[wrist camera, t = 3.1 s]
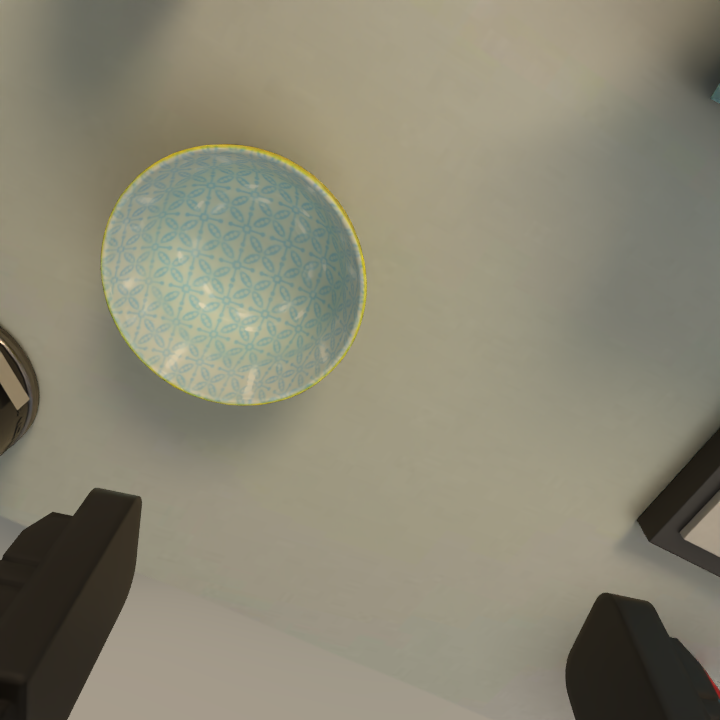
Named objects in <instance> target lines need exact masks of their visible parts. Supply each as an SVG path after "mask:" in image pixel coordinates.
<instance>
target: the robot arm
mask: <svg viewBox="0 0 720 720" xmlns="http://www.w3.org/2000/svg"><path fill="white" fill-rule="evenodd" d="M38 405H39V388H38V383H37V379H36V375H35V372H34V370H33V367H32V365H31V363H30V361H29V359H28V358H27V356H26V354H25V353H24V351H23V350H22V348H21V347H20V346H19V345H18V343H17V342H16V341H15V340H14V339H13V338H12V337H11V336H10V335H9V334H8V333H7V332H6V331H5V330H4V329H3V328H1V327H0V456H1V455H2V454H3V453H4V452H5V451H6V450H7V449H8V448H10V447H11V446H12V445H14V444H15V443H16V442H17V441H18V440H19V439H20V438H21V437H22V436H23V435H24V434H25V433H26V432H27V430H28V429H29V428H30V426H31V425H32V423H33V421H34V419H35V417H36V414H37V410H38ZM141 508H142V500H141V497H140V496H135V495H130V494H125V493H121V492H116V491H111V490H106V489H101V488H94V489H93V490H92V491H91V492H90V493H89V495H88V496H87V497H86V499H85V500H84V502H83V503H82V504H81V506H80V507H79V509H78V510H77V511H76V513H75V514H74V516H70V515H65V514H60V513H55V512H52V513H50V514H49V515H47V516H45V517H44V518H42V519H41V520H39V521H37V522H36V523H34V524H32V525H31V526H29V527H28V528H26V529H25V530H23V531H22V532H21V534H20V535H19V536H18V537H17V539H16V540H15V541H14V542H13V543H12V545H11V546H10V547H9V548H8V550H7V551H6V552H5V554H4V555H3V558H2V560H0V720H67V719H68V717H69V715H70V713H71V711H72V709H73V707H74V705H75V703H76V701H77V699H78V697H79V695H80V693H81V691H82V688H83V687H84V684H85V683H86V680H87V679H88V676H89V675H90V672H91V670H92V668H93V666H94V664H95V662H96V660H97V658H98V656H99V654H100V652H101V650H102V648H103V646H104V644H105V642H106V640H107V638H108V636H109V634H110V632H111V630H112V628H113V626H114V624H115V622H116V620H117V618H118V616H119V614H120V612H121V610H122V608H123V605H124V603H125V601H126V599H127V596H128V593H129V590H130V587H131V584H132V580H133V576H134V572H135V566H136V557H137V547H138V538H139V528H140V518H141ZM566 688H567V693H568V696H569V700H570V703H571V706H572V710H573V713H574V716H575V720H720V702H719V701H718V698H719V696H718V694H717V692H716V691H715V689H714V687H713V685H712V683H711V681H710V679H709V678H708V676H707V674H706V672H705V670H704V668H703V667H702V666H701V664H700V663H699V662H698V661H697V660H696V659H695V658H694V657H693V656H692V655H691V653H690V652H689V651H688V650H687V649H686V648H685V647H684V646H683V645H682V643H681V642H680V641H679V640H678V639H677V638H672V637H669V635H668V633H667V631H666V629H665V627H664V626H663V624H662V622H661V620H660V618H659V616H658V614H657V612H656V610H655V608H654V607H653V605H652V604H651V603H649V602H648V601H645V600H640V599H635V598H630V597H625V596H620V595H615V594H610V593H602V594H601V595H599V597H598V598H597V599H596V601H595V603H594V605H593V607H592V609H591V611H590V613H589V615H588V617H587V619H586V621H585V623H584V625H583V627H582V629H581V631H580V633H579V635H578V637H577V639H576V641H575V643H574V645H573V647H572V649H571V651H570V653H569V656H568V659H567V664H566Z"/></svg>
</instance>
